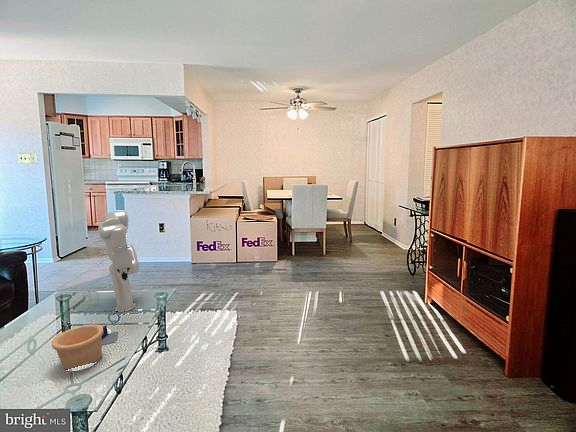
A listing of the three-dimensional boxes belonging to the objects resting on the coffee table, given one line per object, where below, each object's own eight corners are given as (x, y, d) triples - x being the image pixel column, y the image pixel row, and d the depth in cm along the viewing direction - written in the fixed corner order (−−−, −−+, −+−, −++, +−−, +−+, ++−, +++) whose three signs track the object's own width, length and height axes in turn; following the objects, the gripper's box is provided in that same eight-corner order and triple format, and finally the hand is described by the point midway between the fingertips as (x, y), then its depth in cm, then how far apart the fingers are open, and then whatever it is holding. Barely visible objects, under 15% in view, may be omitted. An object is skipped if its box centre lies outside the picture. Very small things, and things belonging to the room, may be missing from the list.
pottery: (96, 345, 193) (91, 320, 190) (115, 358, 179) (110, 331, 176) (50, 365, 176) (44, 338, 174) (67, 381, 162) (61, 352, 160)
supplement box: (99, 330, 195) (81, 330, 197) (101, 340, 196) (83, 340, 198) (106, 324, 201) (89, 324, 203) (108, 334, 202) (91, 334, 204)
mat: (78, 340, 198) (78, 340, 198) (118, 332, 205) (118, 331, 205) (74, 351, 187) (74, 351, 187) (116, 342, 194) (116, 341, 194)
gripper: (134, 245, 210) (139, 275, 213) (106, 249, 205) (111, 279, 209) (134, 248, 203) (138, 279, 206) (104, 252, 198) (110, 284, 202)
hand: (125, 279), depth 208 cm, fingers closed
